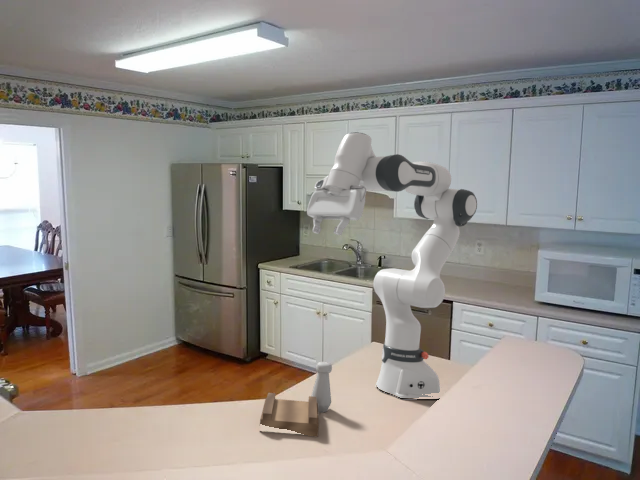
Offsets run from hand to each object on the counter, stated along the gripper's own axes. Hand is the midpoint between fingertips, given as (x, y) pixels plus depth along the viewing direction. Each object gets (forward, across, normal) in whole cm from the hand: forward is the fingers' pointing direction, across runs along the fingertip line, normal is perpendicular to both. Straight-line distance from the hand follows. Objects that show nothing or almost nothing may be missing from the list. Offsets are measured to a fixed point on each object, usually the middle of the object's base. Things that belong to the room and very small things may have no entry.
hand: (326, 233), depth 125 cm
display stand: (+49, -2, -6) cm, 49 cm away
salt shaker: (+45, +1, -18) cm, 49 cm away
